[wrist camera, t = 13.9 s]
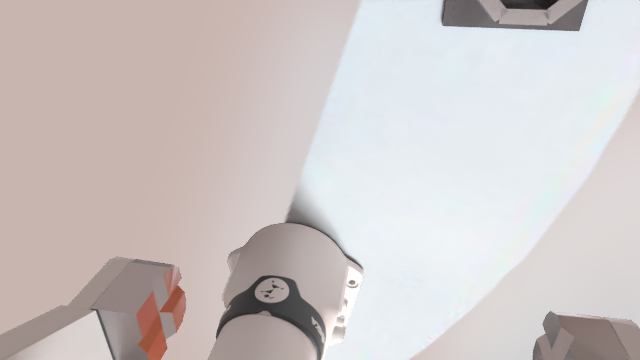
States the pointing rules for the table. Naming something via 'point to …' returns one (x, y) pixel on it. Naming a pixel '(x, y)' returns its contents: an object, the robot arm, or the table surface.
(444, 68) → the table surface
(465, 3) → the duct collar
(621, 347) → the robot arm
